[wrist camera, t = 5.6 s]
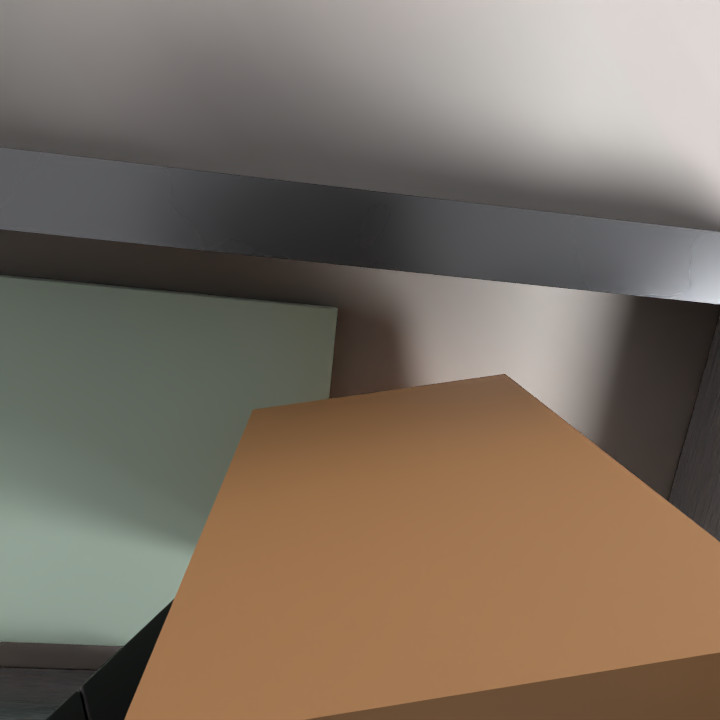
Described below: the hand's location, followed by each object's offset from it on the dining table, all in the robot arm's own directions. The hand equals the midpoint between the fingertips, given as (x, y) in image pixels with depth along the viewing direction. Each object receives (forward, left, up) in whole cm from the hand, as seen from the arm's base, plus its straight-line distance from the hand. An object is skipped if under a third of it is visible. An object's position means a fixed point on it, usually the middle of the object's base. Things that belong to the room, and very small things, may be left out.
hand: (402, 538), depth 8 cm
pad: (+5, +1, -3) cm, 6 cm away
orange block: (0, 0, -1) cm, 1 cm away
